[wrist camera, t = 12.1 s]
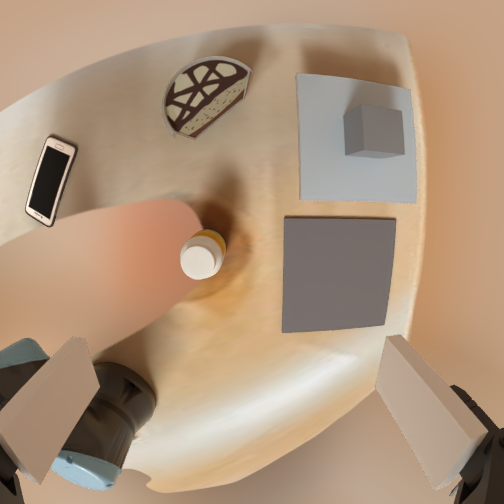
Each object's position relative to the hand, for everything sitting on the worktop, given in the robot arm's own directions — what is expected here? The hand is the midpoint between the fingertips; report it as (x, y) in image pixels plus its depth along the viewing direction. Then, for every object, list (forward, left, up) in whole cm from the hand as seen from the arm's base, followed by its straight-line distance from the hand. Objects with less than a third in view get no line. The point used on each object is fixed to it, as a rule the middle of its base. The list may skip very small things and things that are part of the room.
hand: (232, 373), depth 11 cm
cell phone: (-33, +11, -32) cm, 47 cm away
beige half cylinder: (-5, +20, -32) cm, 38 cm away
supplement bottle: (-5, -1, -32) cm, 32 cm away
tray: (+15, -6, -32) cm, 36 cm away
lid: (+15, +14, -25) cm, 32 cm away
